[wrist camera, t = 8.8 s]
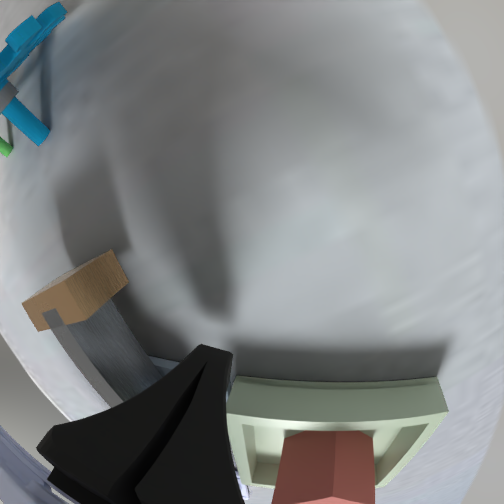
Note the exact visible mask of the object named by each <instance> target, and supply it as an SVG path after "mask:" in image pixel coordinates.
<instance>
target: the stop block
mask: <svg viewBox="0 0 504 504" xmlns="http://www.w3.org/2000/svg"><path fill="white" fill-rule="evenodd" d="M272 504H375V468H374V448H373V438H372V437H370V436H368V435H366V434H364V433H363V432H361V431H359V430H357V431H311V430H305V431H303V432H300V433H297V434H295V435H292V436H290V437H287V438H284V442H283V448H282V454H281V459H280V465H279V470H278V475H277V480H276V485H275V490H274V494H273V499H272Z"/></svg>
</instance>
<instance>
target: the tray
mask: <svg viewBox="0 0 504 504" xmlns="http://www.w3.org/2000/svg"><path fill="white" fill-rule="evenodd" d="M448 412H449V411H448V407H447V404H446V401H445V398H444V395H443V392H442V389H441V387H440V384H439V381H438V378H437V377H430V378H421V379H411V380H398V381H381V382H307V381H289V380H276V379H265V378H255V377H246V376H238V375H236V378H235V381H234V383H233V386H232V389H231V392H230V395H229V398H228V400H227V403H226V413H227V427H228V435H229V439H230V443H231V447H232V450H233V454H234V458H235V462H236V465H237V469H238V473H239V476H240V480H241V483H242V484H243V485H249V486H256V487H264V488H273V489H275V485H276V480H277V475H278V470H279V465H280V459H281V454H282V448H283V442H284V438H287V437H290V436H292V435H295V434H297V433H300V432H303V431H305V430H311V431H357V430H359V431H361V432H363V433H364V434H366V435H368V436H370V437H372V438H373V448H374V468H375V488H382V487H385V486H386V485H387V484H388V483H389V482H390V481H391V480H392V479H393V478H394V477H395V476H396V475H397V474H398V473H399V472H400V471H401V470H402V469H403V468H404V466H405V465H406V464H407V463H408V462H409V461H410V460H411V459H412V458H413V457H414V455H415V454H416V453H417V452H418V451H419V450H420V448H421V447H422V446H423V445H424V444H425V442H426V441H427V440H428V439H429V437H430V436H431V435H432V434H433V432H434V431H435V430H436V428H437V427H438V426H439V424H440V423H441V422H442V420H443V419H444V418H445V416H446V415H447V413H448Z"/></svg>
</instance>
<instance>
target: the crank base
mask: <svg viewBox="0 0 504 504" xmlns="http://www.w3.org/2000/svg"><path fill="white" fill-rule="evenodd" d="M148 357H149V358H150V360H151V361H152V362H153V364H154V365H155V367H156V368H157V369H158V371H159V372H160V373H161V375H162V376H163V377H164V376H165V375H166V374H167V373H169V372H170V371H171V370H172V369H173V368H175V367H176V366H177V365H178V364H179V363H180V362H175V361H170V360H165V359H161V358H156V357H152V356H148ZM230 392H231V385H230V380H229V385H228V388H227V392H226V403H227V400H228V398H229V395H230Z"/></svg>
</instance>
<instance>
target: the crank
mask: <svg viewBox="0 0 504 504" xmlns="http://www.w3.org/2000/svg"><path fill="white" fill-rule="evenodd" d="M128 283H129V281H128V279H127V277H126V275H125V274H124V272H123V270H122V268H121V266H120V264H119V262H118V260H117V258H116V256H115V254H114V252H113V250H112V249H111V250H109V251H107V252H105V253H103V254H101V255H99V256H97V257H95V258H93V259H91V260H90V261H88V262H86V263H84V264H82V265H80V266H78V267H76V268H74V269H73V270H71V271H69V272H67V273H65V274H63V275H62V276H60V277H58V278H57V279H55V280H54V281H52V282H51V283H49V284H48V285H46V286H45V287H44V288H42V289H41V290H39V291H38V292H37V293H35V294H34V295H32V296H31V297H30V298H28V299H27V300H25V301H24V302H23V303H22V305H23V307H24V309H25V311H26V312H27V314H28V316H29V317H30V319H31V321H32V323H33V324H34V326H35V327H36V329H37V331H38V332H39V331H43V330H47V329H51V330H52V331H53V333H54V335H55V336H56V338H57V339H58V341H59V342H60V344H61V345H62V347H63V348H64V349H65V351H66V352H67V354H68V355H69V357H70V358H71V359H72V361H73V362H74V363H75V365H76V366H77V367H78V369H79V370H80V371H81V373H82V374H83V375H84V376H85V378H86V379H87V380H88V381H89V383H90V384H91V385H92V386H93V387H94V389H95V390H96V391H97V392H98V393H99V394H100V396H101V397H102V398H103V399H104V400H105V401H106V402H107V404H108V405H109V406H110V407H111V408H113V407H115V406H117V405H119V404H121V403H123V402H125V401H127V400H129V399H130V398H132V397H134V396H136V395H137V394H139V393H141V392H142V391H144V390H145V389H147V388H148V387H150V386H151V385H152V384H154V383H155V382H157V381H158V380H159V379H161V378H162V377H163V376H162V375H161V373H160V372H159V371H158V369H157V368H156V367H155V365H154V364H153V362H152V361H151V360H150V358H149V357H148V355H147V354H146V353H145V351H144V350H143V348H142V347H141V345H140V344H139V342H138V341H137V339H136V338H135V336H134V335H133V333H132V332H131V330H130V329H129V327H128V326H127V324H126V323H125V321H124V319H123V318H122V316H121V315H120V313H119V311H118V310H117V308H116V306H115V305H114V303H113V301H112V299H111V297H113V296H114V295H115V294H116V293H117V292H118V291H119V290H121V289H122V288H123V287H124V286H125V285H126V284H128Z"/></svg>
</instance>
